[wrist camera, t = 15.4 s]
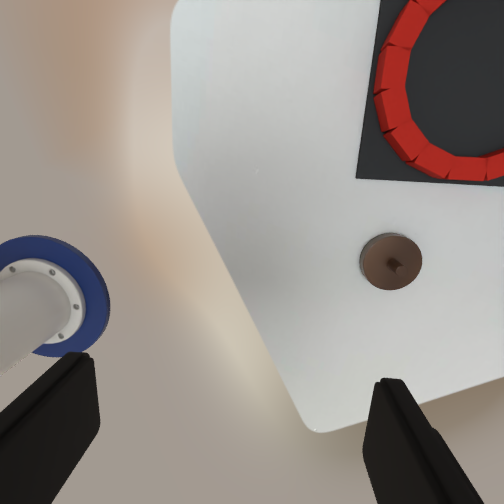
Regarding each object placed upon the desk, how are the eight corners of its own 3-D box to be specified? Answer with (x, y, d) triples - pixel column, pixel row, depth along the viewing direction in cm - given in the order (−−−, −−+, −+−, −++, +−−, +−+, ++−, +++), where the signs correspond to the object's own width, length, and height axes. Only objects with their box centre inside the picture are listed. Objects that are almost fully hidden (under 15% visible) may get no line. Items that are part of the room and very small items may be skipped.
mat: (355, 178, 33) (356, 178, 32) (387, -48, 27) (389, -51, 27) (546, 188, 32) (550, 189, 31) (619, -43, 26) (624, -46, 26)
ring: (361, 174, 32) (367, 175, 30) (392, -45, 27) (403, -63, 25) (547, 184, 31) (567, 185, 29) (618, -42, 26) (648, -60, 24)
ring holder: (355, 283, 36) (365, 297, 32) (364, 231, 34) (375, 239, 30) (410, 287, 36) (426, 301, 32) (421, 234, 34) (440, 243, 30)
